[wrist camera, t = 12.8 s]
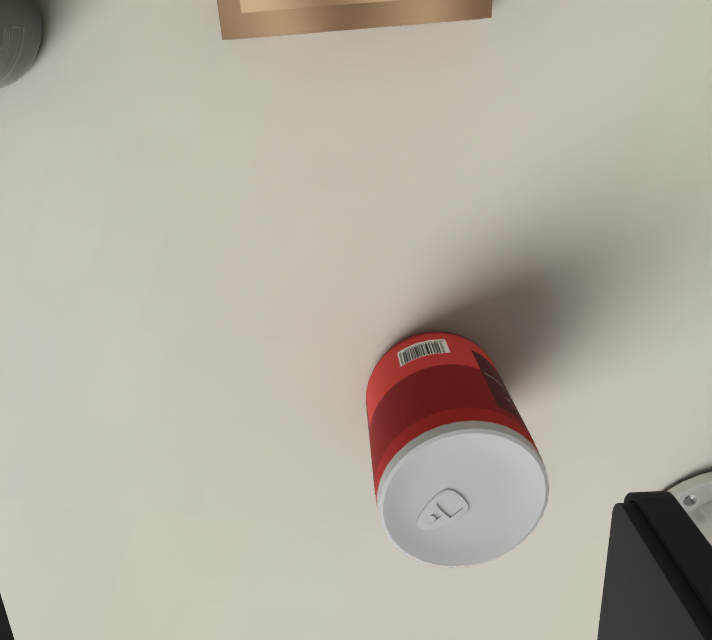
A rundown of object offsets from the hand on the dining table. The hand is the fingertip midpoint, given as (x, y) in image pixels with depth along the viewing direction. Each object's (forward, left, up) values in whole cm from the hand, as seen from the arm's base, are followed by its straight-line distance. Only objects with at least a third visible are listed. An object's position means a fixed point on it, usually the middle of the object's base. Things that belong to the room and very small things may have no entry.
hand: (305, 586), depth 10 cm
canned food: (-5, +12, -28) cm, 31 cm away
